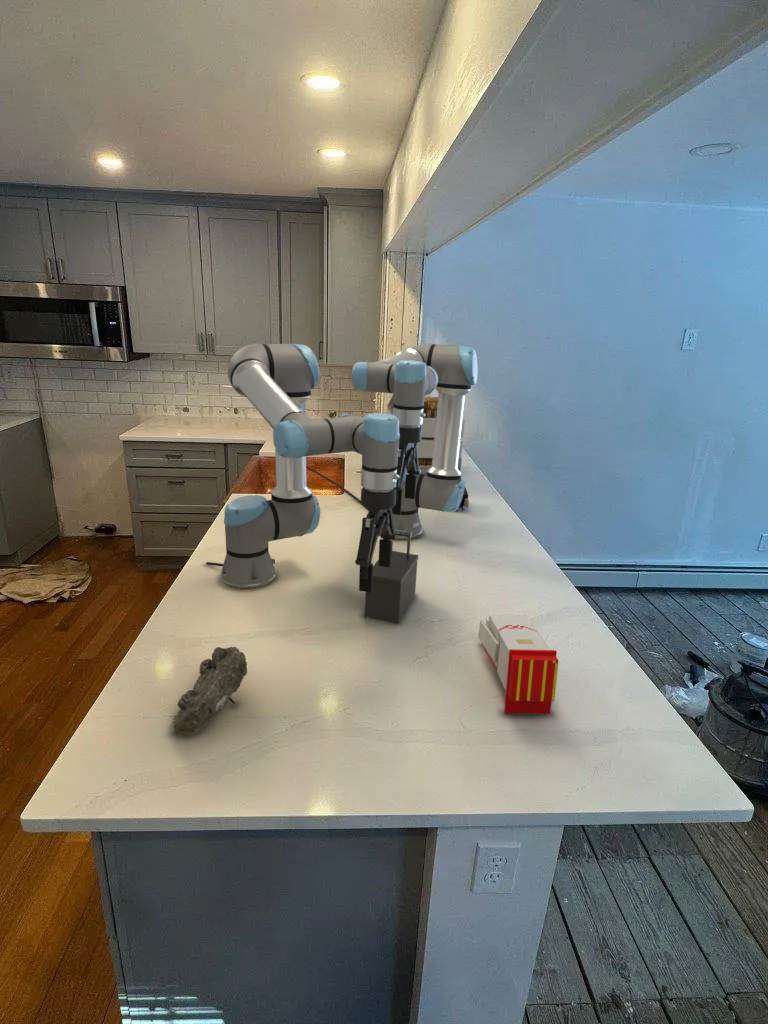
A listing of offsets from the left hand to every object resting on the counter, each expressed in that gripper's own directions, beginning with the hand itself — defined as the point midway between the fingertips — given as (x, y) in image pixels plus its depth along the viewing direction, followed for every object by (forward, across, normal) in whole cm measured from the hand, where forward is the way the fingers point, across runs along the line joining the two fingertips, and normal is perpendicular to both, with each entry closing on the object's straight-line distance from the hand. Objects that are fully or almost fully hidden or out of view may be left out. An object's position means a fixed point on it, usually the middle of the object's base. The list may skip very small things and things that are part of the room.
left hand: (375, 578), depth 128 cm
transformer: (+17, +149, +26) cm, 152 cm away
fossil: (+18, -30, +23) cm, 42 cm away
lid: (+7, +20, +1) cm, 21 cm away
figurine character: (+17, +107, -1) cm, 109 cm away
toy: (+18, 0, -32) cm, 37 cm away
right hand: (-9, +26, +1) cm, 27 cm away
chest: (+17, +20, +1) cm, 26 cm away
